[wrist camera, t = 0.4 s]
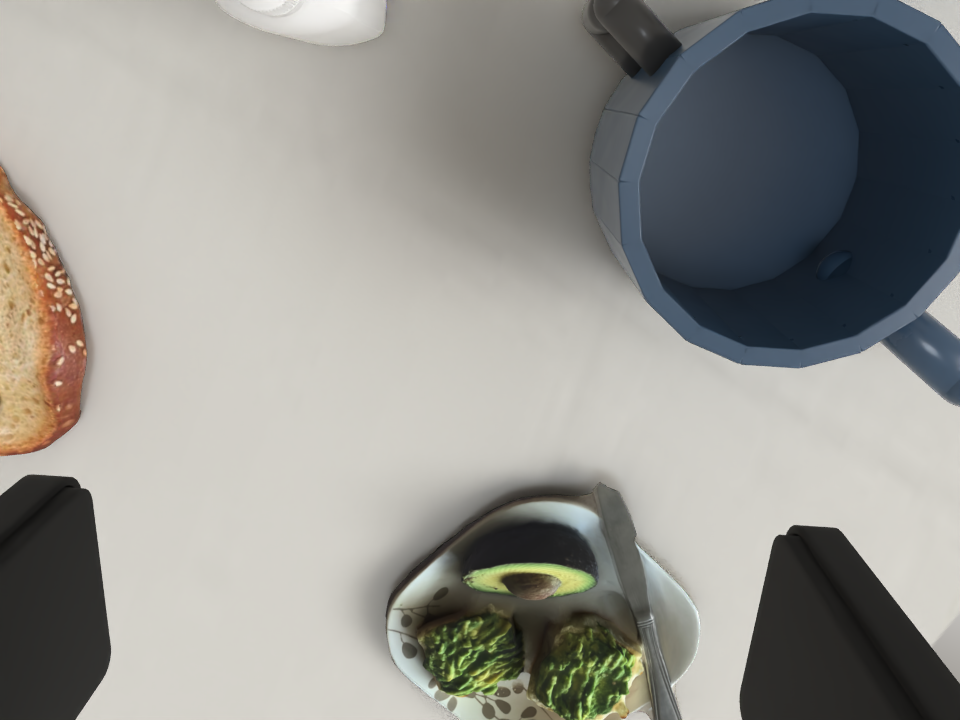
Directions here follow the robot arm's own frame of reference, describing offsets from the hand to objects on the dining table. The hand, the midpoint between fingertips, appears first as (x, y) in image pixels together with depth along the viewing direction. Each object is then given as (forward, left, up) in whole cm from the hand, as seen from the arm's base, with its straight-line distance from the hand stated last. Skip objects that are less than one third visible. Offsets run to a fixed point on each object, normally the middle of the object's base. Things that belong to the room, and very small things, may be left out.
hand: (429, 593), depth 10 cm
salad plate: (+14, +19, -30) cm, 38 cm away
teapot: (-11, +7, -30) cm, 32 cm away
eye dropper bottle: (-3, -12, -30) cm, 33 cm away
